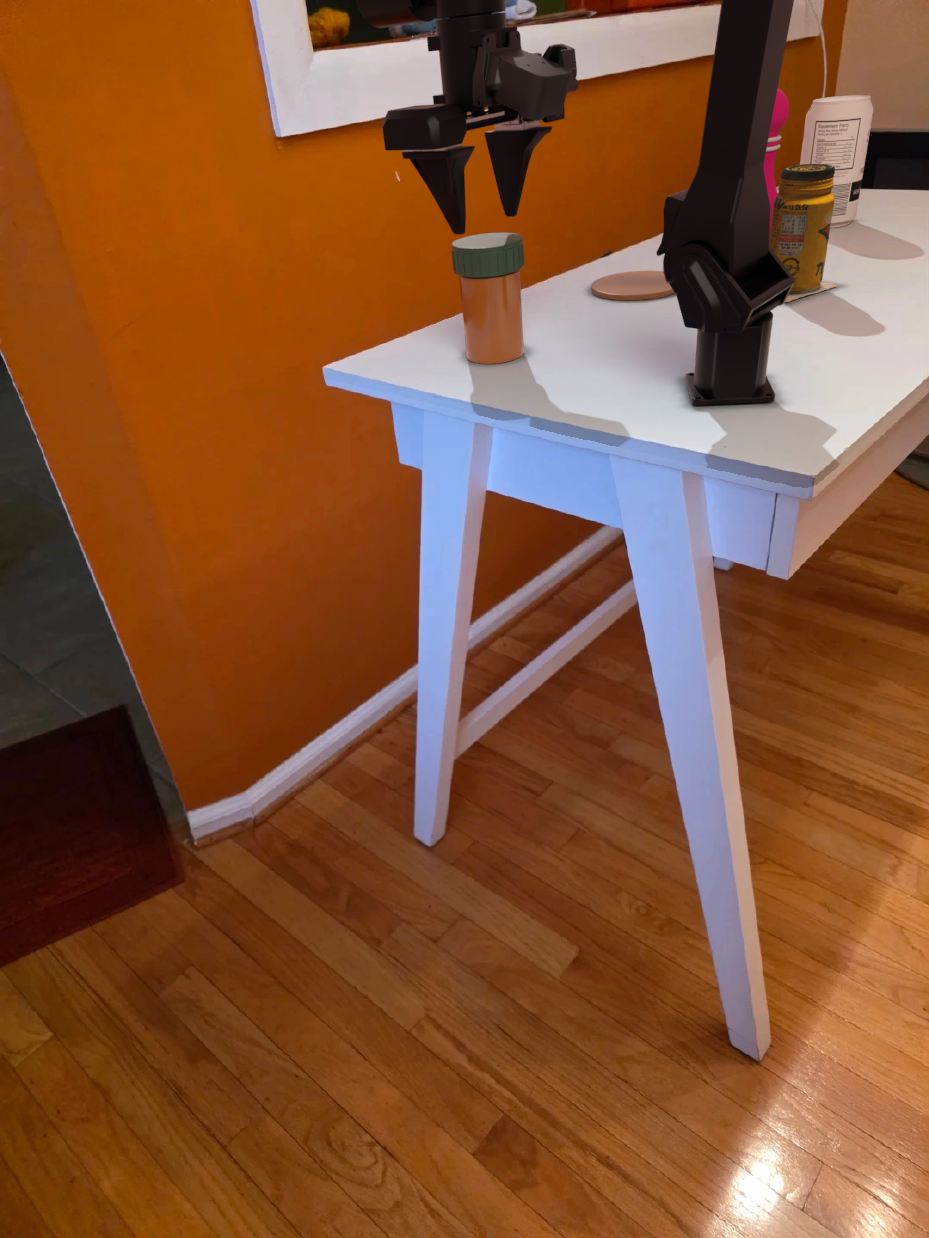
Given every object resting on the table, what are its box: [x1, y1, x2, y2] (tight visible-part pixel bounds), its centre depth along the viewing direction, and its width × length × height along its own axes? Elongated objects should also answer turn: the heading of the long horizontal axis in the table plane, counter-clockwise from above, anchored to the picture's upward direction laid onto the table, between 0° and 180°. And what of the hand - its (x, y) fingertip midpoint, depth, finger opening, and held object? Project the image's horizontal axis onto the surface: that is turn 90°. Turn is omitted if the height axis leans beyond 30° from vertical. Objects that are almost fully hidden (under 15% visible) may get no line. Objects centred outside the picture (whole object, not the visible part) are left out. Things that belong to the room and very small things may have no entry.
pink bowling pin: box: [764, 88, 790, 237], centre depth 98 cm, size 7×7×20 cm
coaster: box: [590, 270, 676, 301], centre depth 98 cm, size 11×11×1 cm
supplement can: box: [799, 94, 874, 229], centre depth 112 cm, size 8×8×15 cm
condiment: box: [769, 164, 839, 303], centre depth 88 cm, size 7×8×12 cm
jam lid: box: [451, 232, 525, 277], centre depth 77 cm, size 7×7×2 cm
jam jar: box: [458, 269, 525, 365], centre depth 80 cm, size 6×6×10 cm
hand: (486, 225), depth 76 cm, fingers open, 7 cm apart
